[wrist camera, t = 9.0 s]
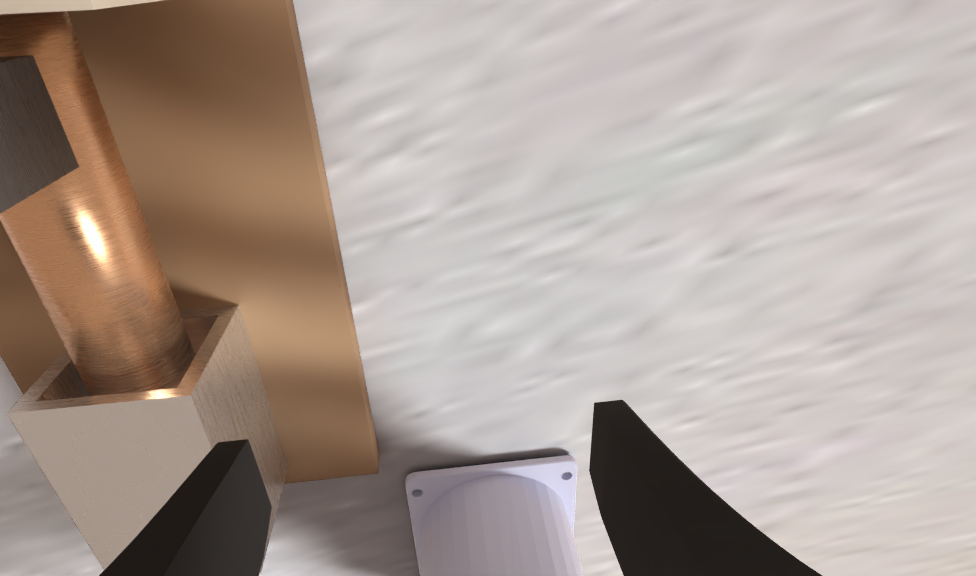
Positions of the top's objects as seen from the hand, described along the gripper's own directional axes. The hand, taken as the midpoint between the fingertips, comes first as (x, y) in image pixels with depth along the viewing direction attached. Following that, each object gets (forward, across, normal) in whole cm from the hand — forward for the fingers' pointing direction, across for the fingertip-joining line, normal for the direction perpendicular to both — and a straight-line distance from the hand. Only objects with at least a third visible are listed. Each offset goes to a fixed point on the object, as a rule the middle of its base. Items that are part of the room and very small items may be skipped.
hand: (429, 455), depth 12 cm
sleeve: (+10, +9, +5) cm, 14 cm away
